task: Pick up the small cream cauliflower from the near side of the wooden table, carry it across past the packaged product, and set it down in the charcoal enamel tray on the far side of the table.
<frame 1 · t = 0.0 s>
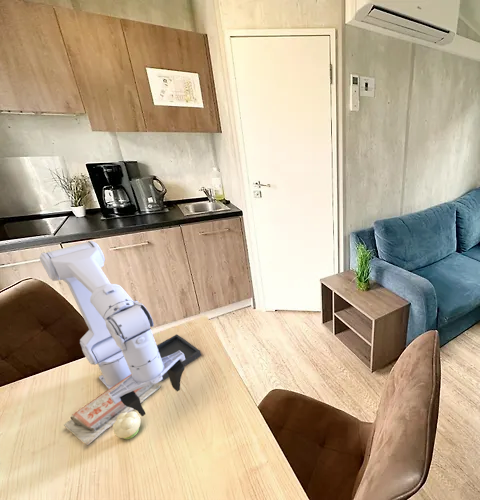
hand: (160, 400, 67), 10 cm above the table, tool pointing down, fingers open, 7 cm apart
packaged product: (117, 407, 76), on the table
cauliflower: (131, 432, 70), on the table
tray: (170, 358, 92), on the table
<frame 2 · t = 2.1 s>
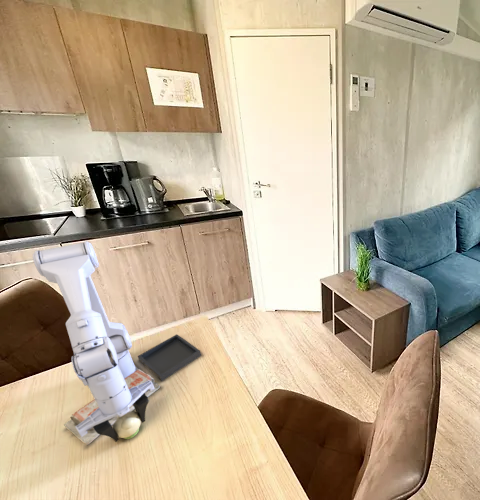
hand: (129, 429, 69), 1 cm above the table, tool pointing down, fingers closed on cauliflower, 5 cm apart
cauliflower: (131, 432, 70), on the table, touching gripper
everything else where it was.
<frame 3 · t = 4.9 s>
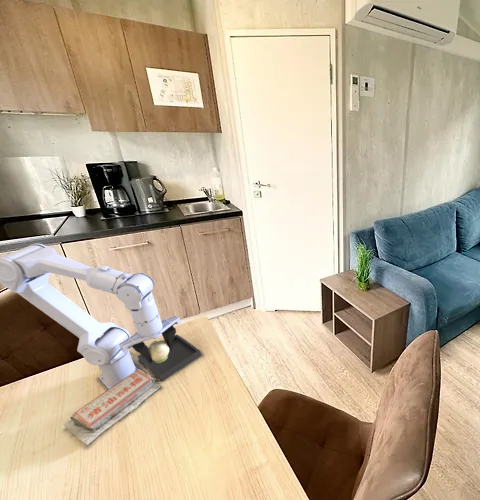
hand: (159, 355, 82), 8 cm above the table, tool pointing down, fingers closed on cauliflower, 5 cm apart
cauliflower: (161, 358, 83), point 7 cm above the table, touching gripper
everything else where it was.
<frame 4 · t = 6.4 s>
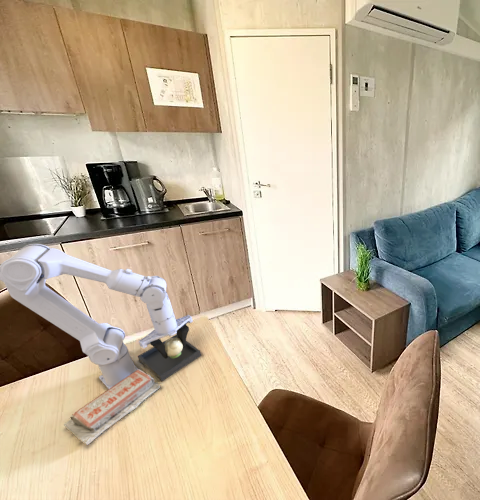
hand: (174, 351, 89), 4 cm above the table, tool pointing down, fingers closed on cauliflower, 5 cm apart
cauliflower: (175, 354, 90), point 3 cm above the table, touching gripper
everything else where it was.
when the fingers open (2 cm above the table, at t = 7.6 s): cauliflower stays where it is, resting on tray.
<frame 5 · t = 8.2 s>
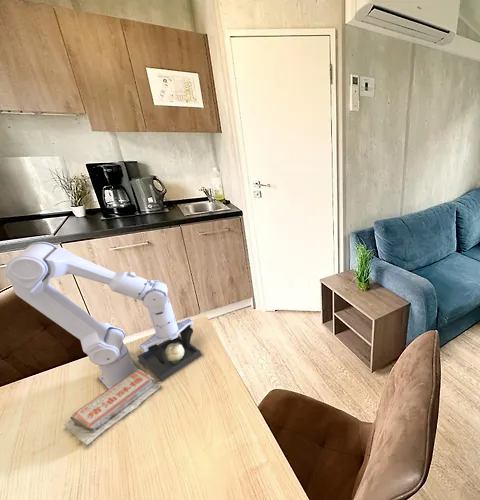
hand: (175, 354, 90), 3 cm above the table, tool pointing down, fingers open, 7 cm apart
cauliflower: (177, 359, 91), resting on tray
everything else where it was.
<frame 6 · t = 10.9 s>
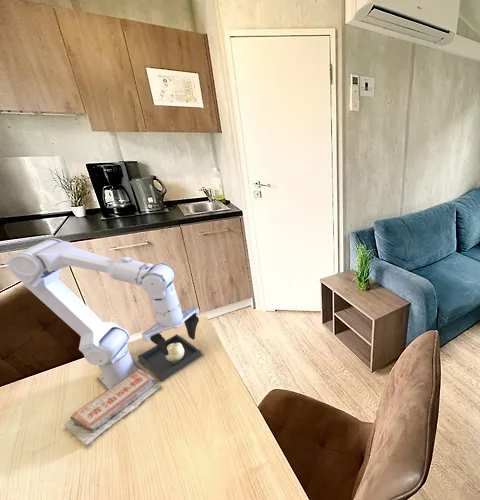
hand: (179, 345, 83), 10 cm above the table, tool pointing down, fingers open, 7 cm apart
nothing on the table moved.
at the end: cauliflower inside the target area in the tray (3.2 cm from its centre), point 0.5 cm above the tray's base; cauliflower moved 23.2 cm from its start; the gripper is holding nothing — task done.
